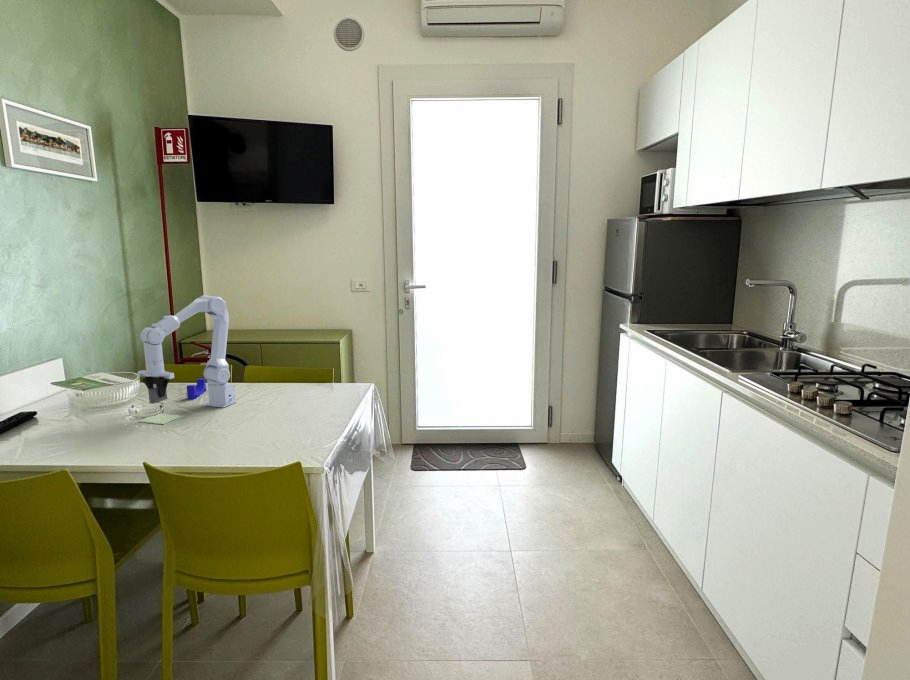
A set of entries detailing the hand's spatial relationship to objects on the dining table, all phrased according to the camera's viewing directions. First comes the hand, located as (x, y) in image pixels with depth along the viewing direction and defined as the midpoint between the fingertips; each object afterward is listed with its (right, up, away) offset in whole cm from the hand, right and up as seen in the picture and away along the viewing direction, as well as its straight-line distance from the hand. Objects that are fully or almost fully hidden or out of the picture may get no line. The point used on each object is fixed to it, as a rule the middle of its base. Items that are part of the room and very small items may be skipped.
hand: (158, 396), depth 197 cm
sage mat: (0, -9, +2) cm, 9 cm away
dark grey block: (0, -2, 0) cm, 2 cm away
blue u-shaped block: (-2, -3, +33) cm, 33 cm away
